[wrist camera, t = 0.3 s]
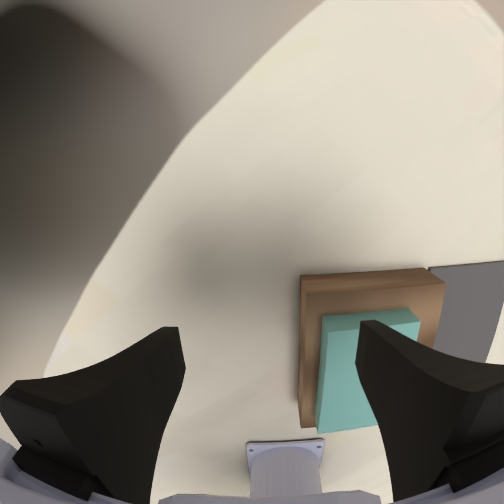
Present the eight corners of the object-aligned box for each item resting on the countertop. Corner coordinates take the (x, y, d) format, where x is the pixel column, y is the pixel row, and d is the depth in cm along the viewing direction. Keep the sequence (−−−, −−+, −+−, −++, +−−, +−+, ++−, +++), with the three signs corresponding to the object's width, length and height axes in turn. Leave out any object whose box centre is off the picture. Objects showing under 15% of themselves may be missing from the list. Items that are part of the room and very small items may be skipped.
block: (385, 405, 20) (393, 421, 18) (314, 415, 20) (317, 433, 18) (407, 307, 17) (420, 321, 15) (322, 315, 18) (328, 332, 16)
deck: (399, 387, 23) (412, 410, 20) (297, 400, 24) (300, 428, 20) (423, 267, 20) (446, 283, 17) (300, 275, 21) (306, 294, 17)
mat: (481, 365, 23) (483, 367, 22) (404, 386, 23) (405, 388, 23) (509, 260, 20) (511, 261, 19) (428, 267, 20) (431, 268, 20)
